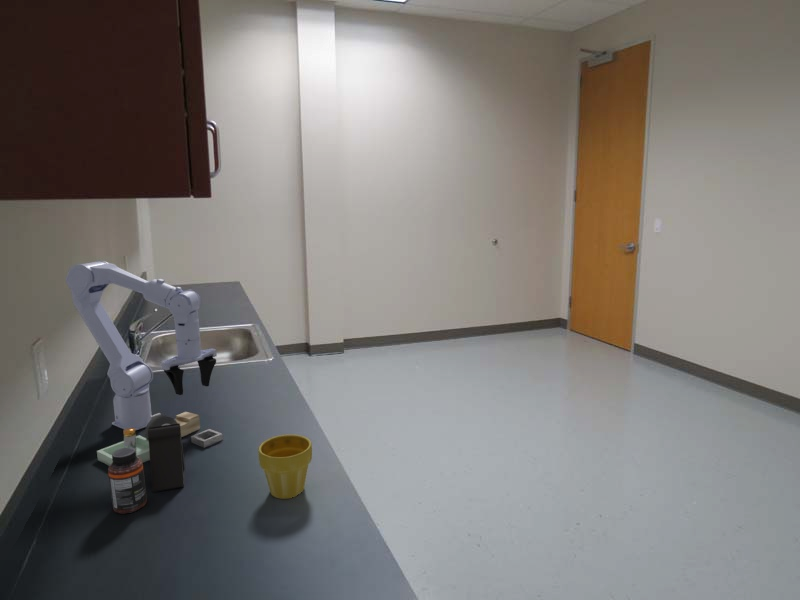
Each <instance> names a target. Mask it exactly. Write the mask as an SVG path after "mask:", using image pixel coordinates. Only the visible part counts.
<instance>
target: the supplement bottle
mask: <svg viewBox="0 0 800 600" xmlns="http://www.w3.org/2000/svg"><path fill="white" fill-rule="evenodd" d="M112 460H113V462H112V463H111V464H110V466H108V468H107V471H108V472H107V473H108V479H109V480H108V482H109V489H110V495H111V496H110V497H111V504H112V508H113V511H114V512H115V513H117V514H130V513H131V514H132V513H134V512H136V511H139V510H140V509H141V508H143V507H145V506H146V505H147V501H148V498H147V495H148V494H147V487H146V480H145V472H144V470H145V469H144V464H143V462H142V460H141V459H140V458H138V457H136V450H135V449H134V448H121V449H118V450H116V451H115V452H113V454H112Z"/></svg>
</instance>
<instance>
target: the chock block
mask: <svg viewBox="0 0 800 600" xmlns="http://www.w3.org/2000/svg"><path fill="white" fill-rule="evenodd" d="M174 419H175V420H176V422H177V424H179V423H180V429H181V438H182V437H185V436H187V435H189V434H191V433H194V432H196V431H198V430H200V429H201V423H200V415H199V414H196V413H193V412H188V411H184V412H182V413H180V414H177V415H175V418H174Z"/></svg>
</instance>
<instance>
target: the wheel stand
mask: <svg viewBox="0 0 800 600" xmlns="http://www.w3.org/2000/svg"><path fill="white" fill-rule="evenodd" d="M175 419H176V418H173V417H171V416H168V415H165V414H162V413H160V412H158V413H155V414H153V415H152V416H150V421H149V423H148V424H147V426H146V427H145V431H144V436H145V437H144V438H146V439H147V440H148V429H149V428H150V427H157V426H164V425H172V424H177V422H176V420H175Z"/></svg>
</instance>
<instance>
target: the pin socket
mask: <svg viewBox="0 0 800 600" xmlns="http://www.w3.org/2000/svg"><path fill="white" fill-rule="evenodd" d="M223 437H224V435H223V433H221V432H219V431H216V430H213V429H211V428H208V429H206V430H203V431H201V432H197V433H196V434H192V435H191V436H190V442H191V443H192V444H195V445H197V446H198V447H202V448H207V447H209V446H212V445H215V444H217V443H218V442H221V441H224V438H223Z"/></svg>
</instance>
